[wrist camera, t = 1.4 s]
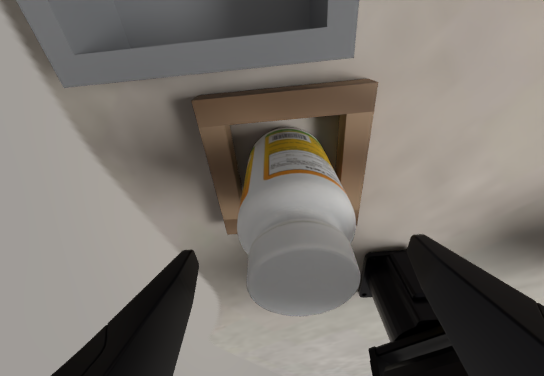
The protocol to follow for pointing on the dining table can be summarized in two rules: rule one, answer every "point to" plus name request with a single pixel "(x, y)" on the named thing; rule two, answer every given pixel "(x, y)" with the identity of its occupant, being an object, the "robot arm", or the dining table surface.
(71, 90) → the dining table surface
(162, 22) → the bin
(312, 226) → the supplement bottle
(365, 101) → the socket block
